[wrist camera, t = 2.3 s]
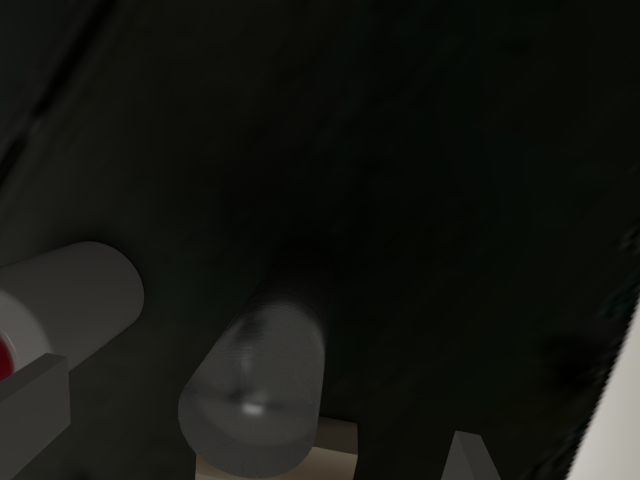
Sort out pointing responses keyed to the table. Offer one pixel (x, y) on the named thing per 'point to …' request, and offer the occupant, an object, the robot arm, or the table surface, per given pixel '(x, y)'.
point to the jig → (310, 456)
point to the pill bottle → (66, 304)
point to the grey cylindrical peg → (265, 373)
